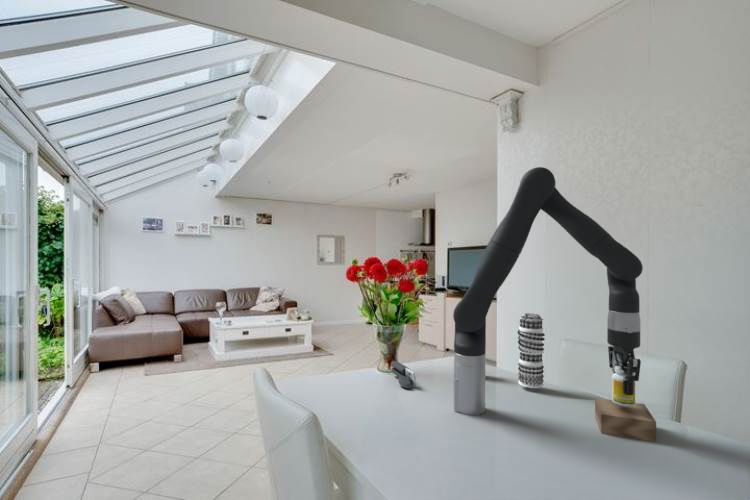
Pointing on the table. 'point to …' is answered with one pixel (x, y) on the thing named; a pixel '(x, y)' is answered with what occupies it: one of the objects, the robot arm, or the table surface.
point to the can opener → (404, 374)
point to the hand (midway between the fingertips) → (623, 390)
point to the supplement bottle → (621, 390)
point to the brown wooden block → (625, 420)
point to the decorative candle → (530, 351)
